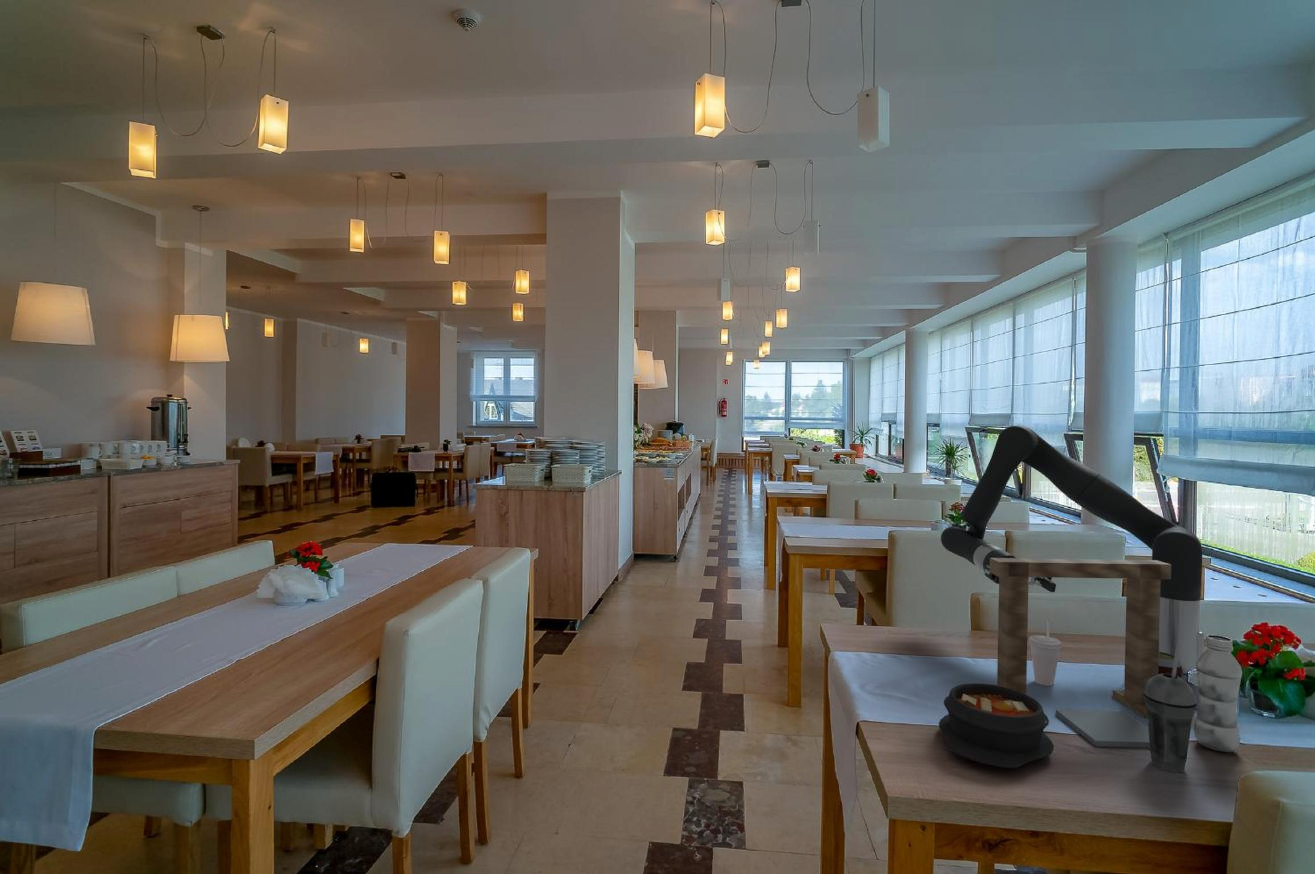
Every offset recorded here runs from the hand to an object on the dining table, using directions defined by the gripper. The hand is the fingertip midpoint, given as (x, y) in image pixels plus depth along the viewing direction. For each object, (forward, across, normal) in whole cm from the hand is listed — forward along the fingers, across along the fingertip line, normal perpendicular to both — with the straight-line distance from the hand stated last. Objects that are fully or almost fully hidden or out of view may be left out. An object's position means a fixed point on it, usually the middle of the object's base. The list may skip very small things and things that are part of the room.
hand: (1037, 587), depth 155 cm
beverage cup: (+45, -5, +14) cm, 47 cm away
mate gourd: (+17, +20, +16) cm, 31 cm away
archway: (+21, -3, +17) cm, 27 cm away
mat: (+32, -5, +15) cm, 36 cm away
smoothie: (+10, -2, +19) cm, 21 cm away
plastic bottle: (+40, +9, +13) cm, 43 cm away
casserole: (+35, -30, +17) cm, 49 cm away
